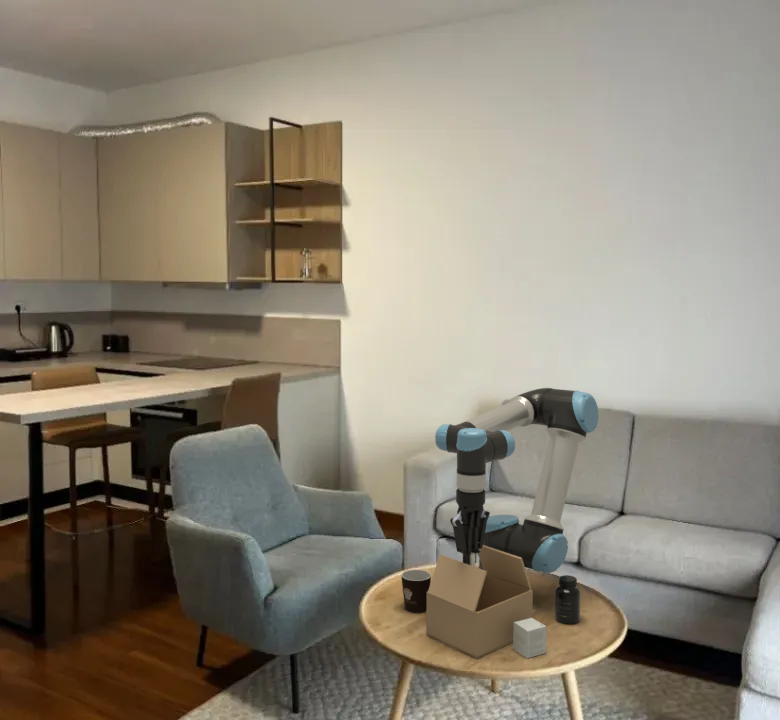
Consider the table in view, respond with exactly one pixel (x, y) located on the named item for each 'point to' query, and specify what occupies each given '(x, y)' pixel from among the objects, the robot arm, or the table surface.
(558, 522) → the robot arm
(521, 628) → the product box
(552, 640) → the table surface
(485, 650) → the carton
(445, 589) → the flap
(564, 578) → the supplement bottle
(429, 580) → the coffee mug
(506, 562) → the flap
